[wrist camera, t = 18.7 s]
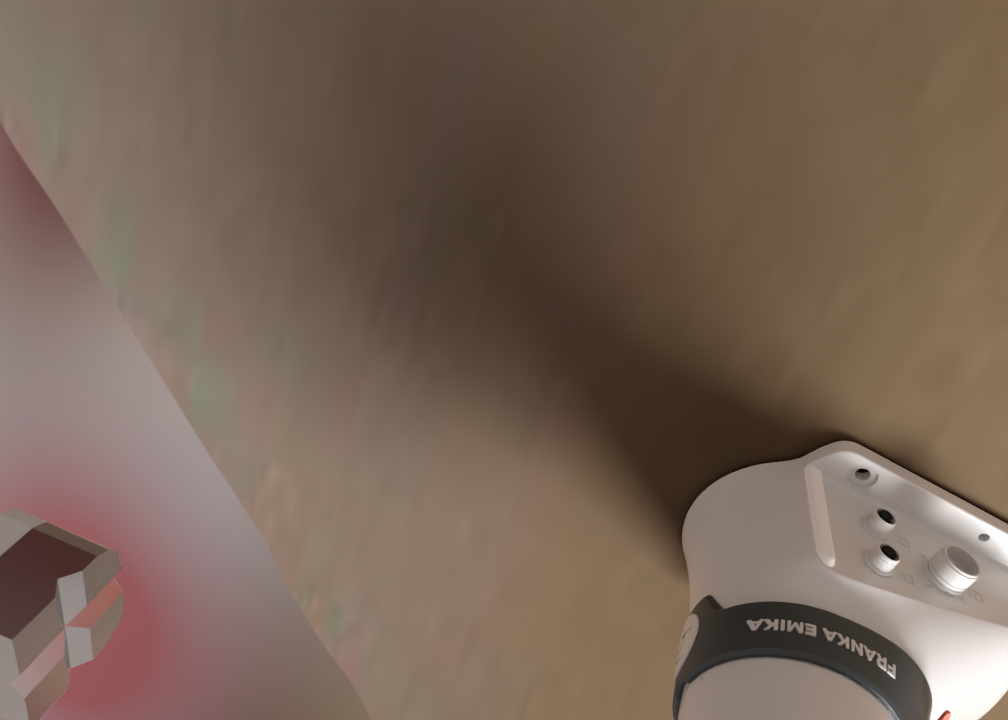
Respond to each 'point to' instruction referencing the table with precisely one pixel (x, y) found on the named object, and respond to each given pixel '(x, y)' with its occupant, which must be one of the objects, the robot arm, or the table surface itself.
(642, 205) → the table surface
